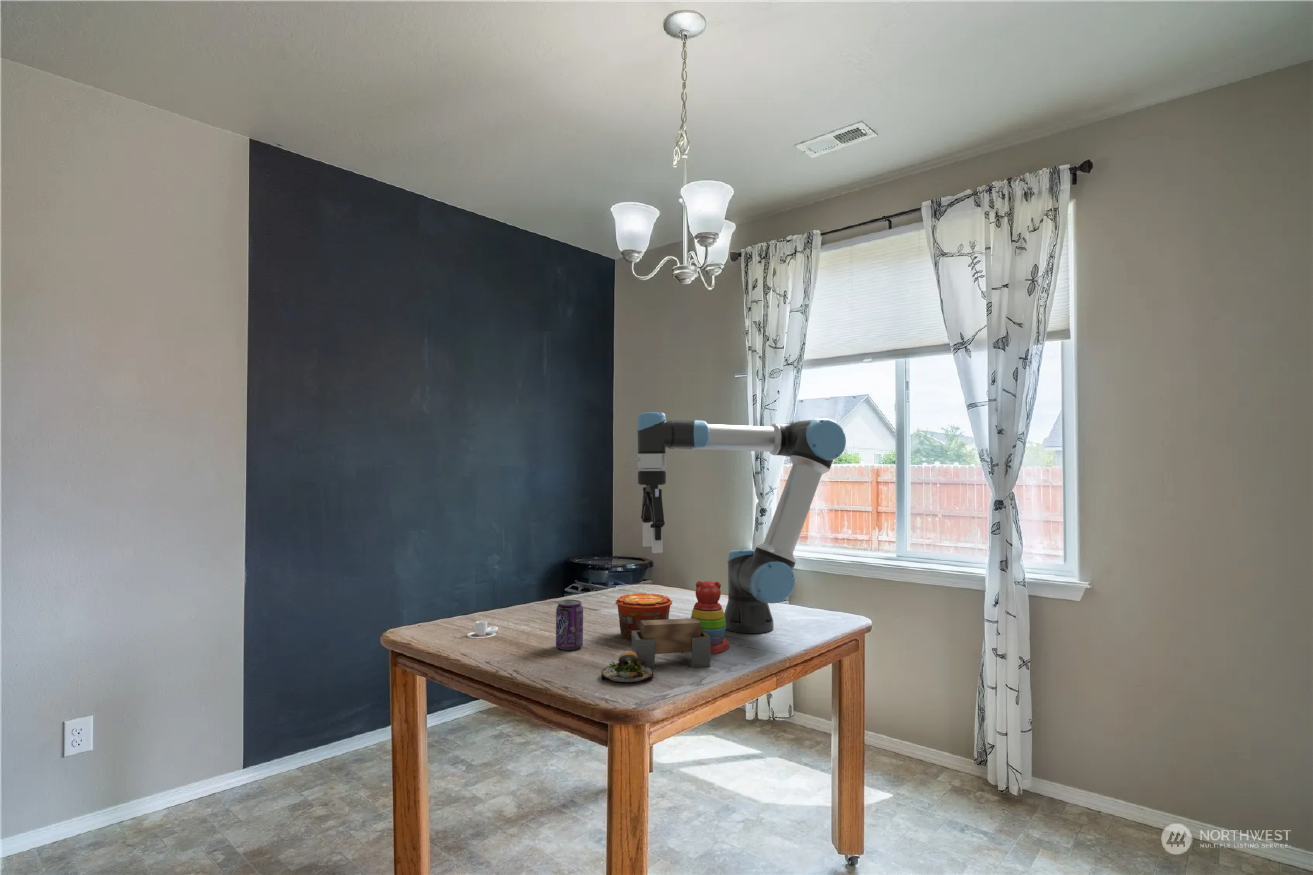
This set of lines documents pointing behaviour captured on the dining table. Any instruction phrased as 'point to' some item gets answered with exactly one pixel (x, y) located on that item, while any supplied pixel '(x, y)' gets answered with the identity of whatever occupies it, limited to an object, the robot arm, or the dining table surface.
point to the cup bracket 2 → (699, 651)
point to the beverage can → (569, 624)
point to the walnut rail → (671, 634)
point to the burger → (627, 669)
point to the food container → (640, 611)
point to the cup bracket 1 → (644, 649)
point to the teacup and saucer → (483, 630)
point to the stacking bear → (711, 614)
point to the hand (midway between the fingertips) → (652, 549)
